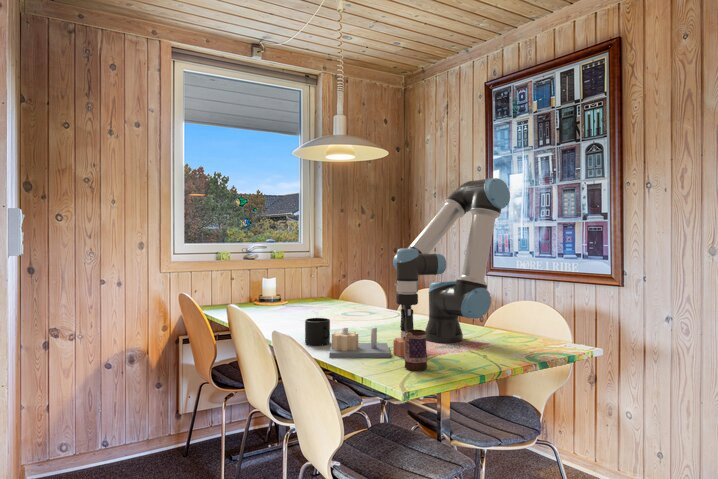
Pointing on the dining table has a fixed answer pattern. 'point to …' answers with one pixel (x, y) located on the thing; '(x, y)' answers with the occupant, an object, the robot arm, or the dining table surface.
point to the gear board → (356, 345)
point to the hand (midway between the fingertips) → (406, 354)
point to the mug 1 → (317, 331)
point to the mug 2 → (415, 350)
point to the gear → (399, 347)
